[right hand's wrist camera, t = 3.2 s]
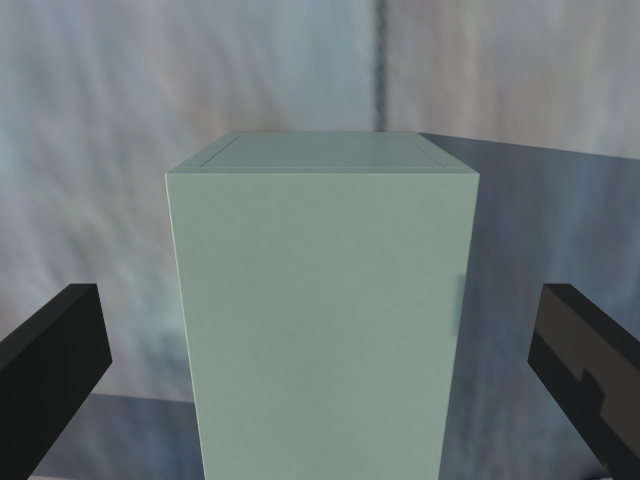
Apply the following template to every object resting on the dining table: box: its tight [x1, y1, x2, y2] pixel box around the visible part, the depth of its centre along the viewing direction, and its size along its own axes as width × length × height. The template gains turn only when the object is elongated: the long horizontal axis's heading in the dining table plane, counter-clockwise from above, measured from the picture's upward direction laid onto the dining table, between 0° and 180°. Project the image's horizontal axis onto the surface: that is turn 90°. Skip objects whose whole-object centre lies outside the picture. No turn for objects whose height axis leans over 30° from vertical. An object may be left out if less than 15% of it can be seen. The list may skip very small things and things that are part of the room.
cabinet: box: [165, 132, 480, 480], centre depth 24 cm, size 21×11×11 cm, turn 0°
